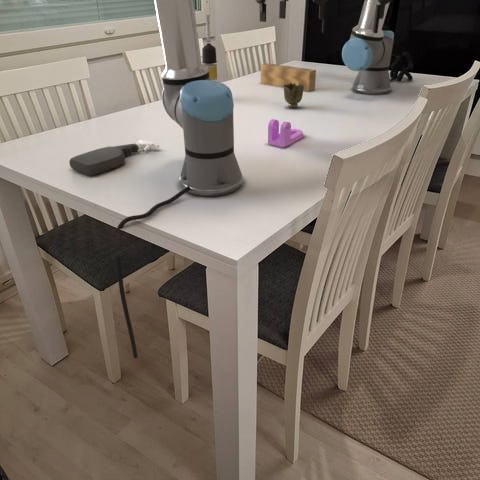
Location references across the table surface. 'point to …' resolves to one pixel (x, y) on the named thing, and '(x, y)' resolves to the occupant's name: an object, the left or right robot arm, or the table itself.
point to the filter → (209, 54)
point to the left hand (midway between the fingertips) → (349, 32)
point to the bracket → (282, 134)
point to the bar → (287, 76)
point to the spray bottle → (106, 157)
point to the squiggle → (401, 66)
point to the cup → (293, 94)
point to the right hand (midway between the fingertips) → (272, 20)
